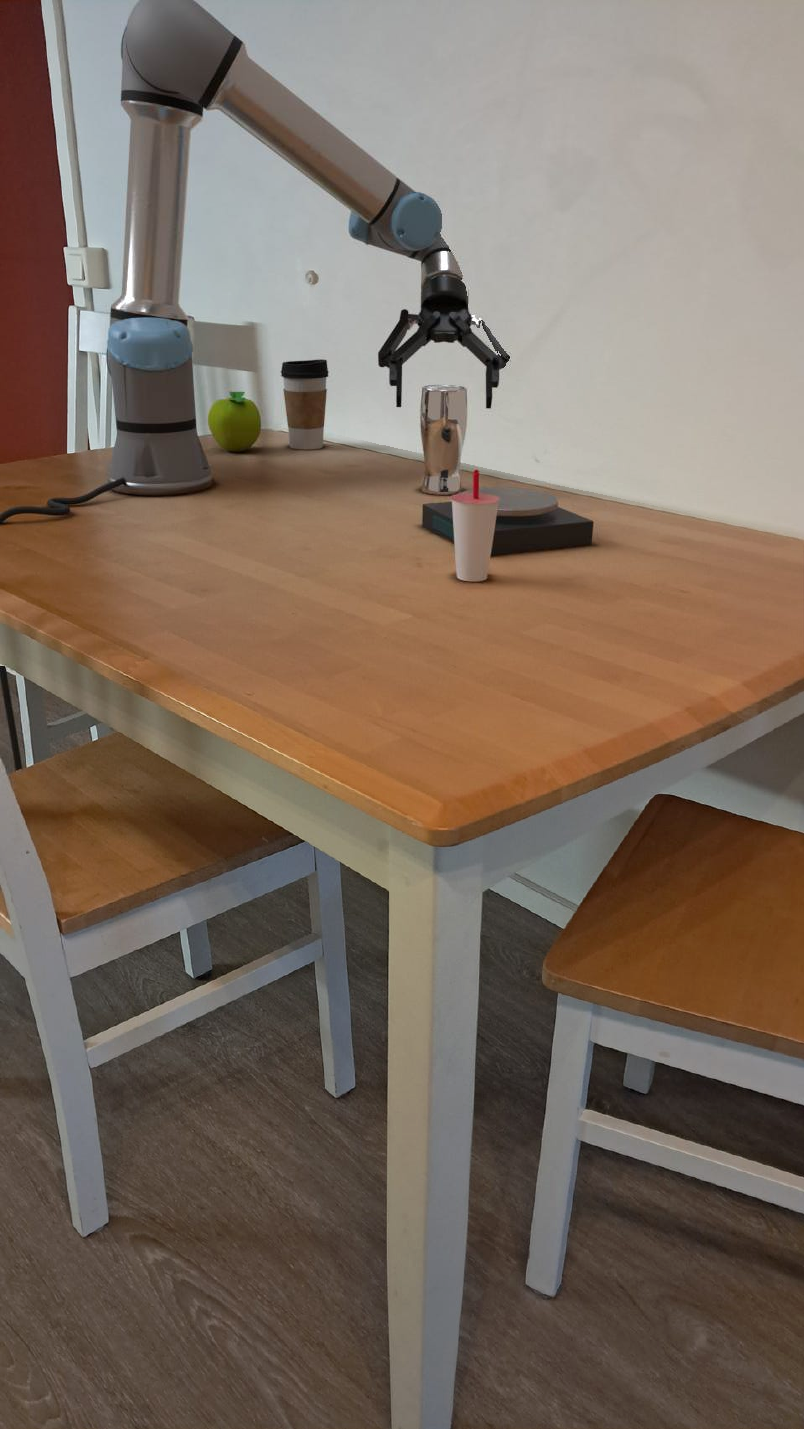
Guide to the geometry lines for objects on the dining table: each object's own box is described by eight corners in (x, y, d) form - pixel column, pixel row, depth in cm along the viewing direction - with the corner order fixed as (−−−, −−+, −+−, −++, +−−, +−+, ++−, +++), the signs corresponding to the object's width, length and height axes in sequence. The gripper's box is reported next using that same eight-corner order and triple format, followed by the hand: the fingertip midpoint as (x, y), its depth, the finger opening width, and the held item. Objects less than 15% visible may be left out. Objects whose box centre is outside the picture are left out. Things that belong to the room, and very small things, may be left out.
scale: (475, 557, 127) (476, 532, 126) (419, 526, 140) (419, 504, 139) (591, 544, 133) (594, 521, 132) (527, 516, 146) (528, 494, 145)
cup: (470, 587, 116) (474, 476, 111) (438, 575, 120) (441, 468, 115) (505, 578, 119) (511, 470, 114) (473, 567, 123) (478, 462, 118)
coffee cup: (327, 451, 189) (326, 363, 183) (280, 450, 190) (277, 362, 183) (331, 443, 197) (330, 358, 191) (286, 442, 197) (283, 357, 191)
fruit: (263, 445, 194) (260, 388, 189) (260, 455, 185) (258, 395, 181) (212, 445, 193) (208, 388, 189) (207, 455, 184) (203, 395, 180)
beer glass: (470, 488, 163) (474, 386, 157) (456, 497, 157) (460, 391, 151) (426, 484, 165) (429, 383, 159) (411, 493, 159) (413, 388, 153)
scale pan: (484, 520, 127) (485, 513, 127) (437, 497, 138) (438, 491, 138) (577, 511, 132) (578, 504, 132) (525, 490, 143) (525, 484, 143)
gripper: (521, 308, 171) (524, 418, 164) (366, 306, 172) (362, 416, 164) (526, 274, 164) (529, 387, 157) (364, 272, 165) (360, 384, 157)
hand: (443, 402), depth 160 cm, fingers open, 13 cm apart
